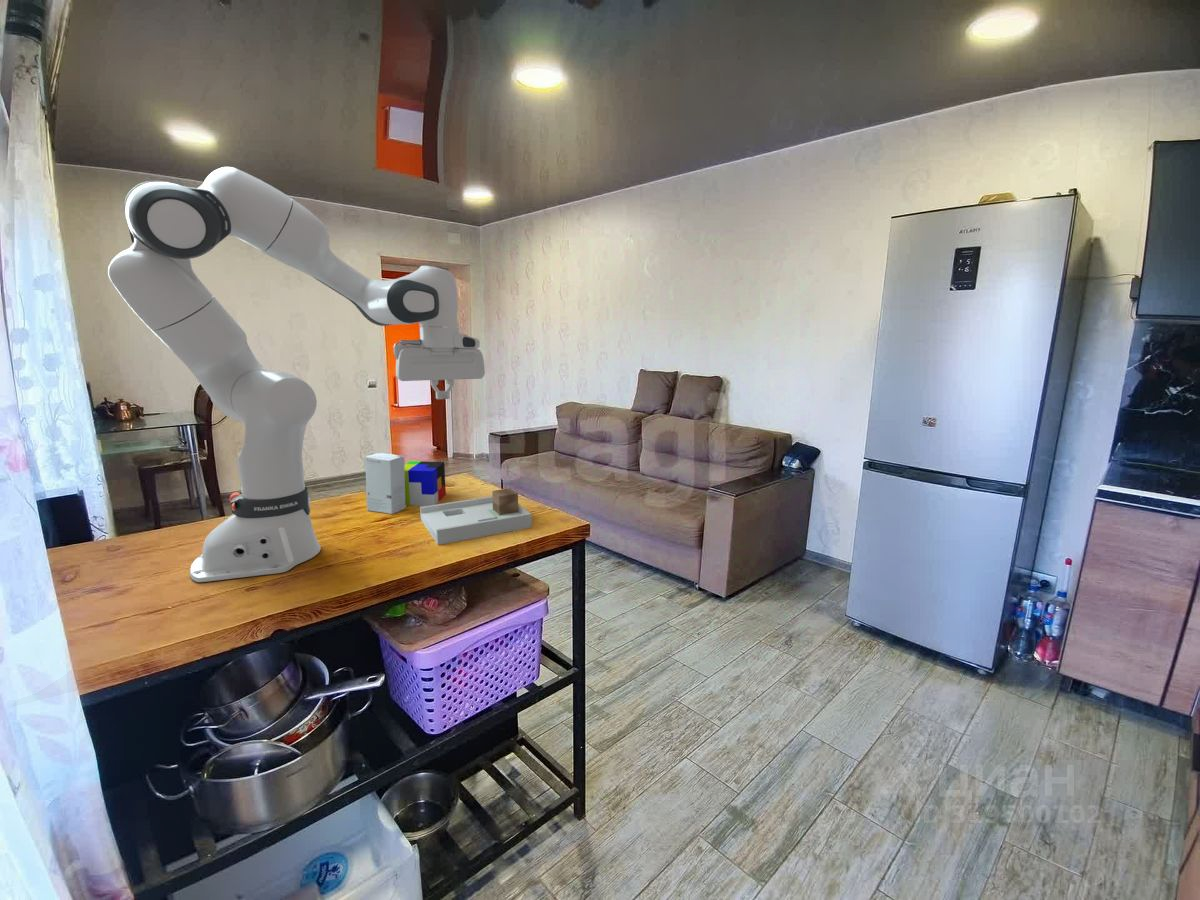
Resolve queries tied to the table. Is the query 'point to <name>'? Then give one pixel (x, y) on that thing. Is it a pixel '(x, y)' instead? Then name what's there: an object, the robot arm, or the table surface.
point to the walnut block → (505, 501)
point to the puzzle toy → (424, 483)
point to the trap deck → (470, 520)
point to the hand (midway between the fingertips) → (442, 398)
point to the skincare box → (385, 482)
